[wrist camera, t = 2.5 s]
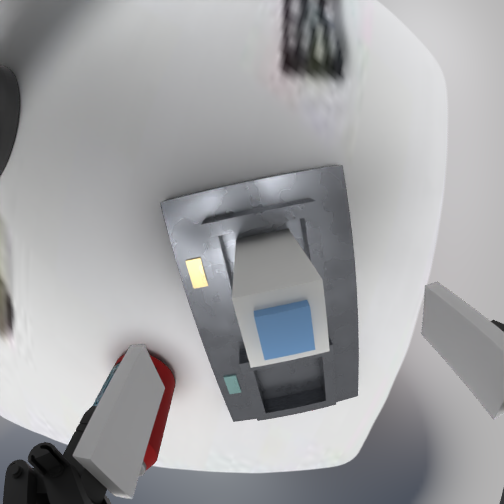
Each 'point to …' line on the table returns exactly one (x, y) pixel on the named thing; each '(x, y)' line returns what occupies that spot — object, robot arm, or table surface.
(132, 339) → the table surface
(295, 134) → the table surface
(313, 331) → the plug
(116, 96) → the table surface
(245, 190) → the grey socket board
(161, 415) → the beverage can
